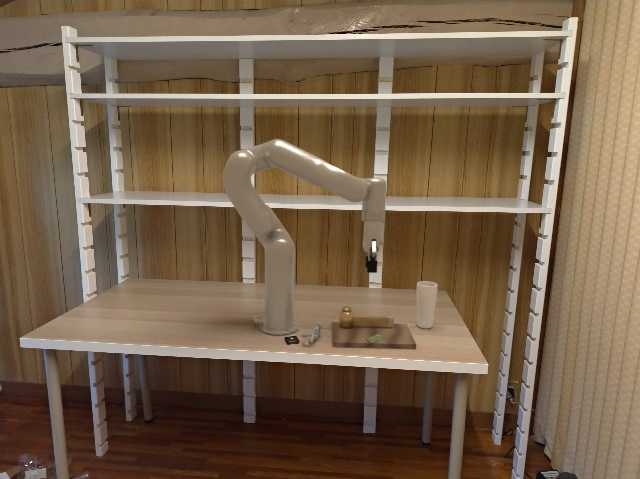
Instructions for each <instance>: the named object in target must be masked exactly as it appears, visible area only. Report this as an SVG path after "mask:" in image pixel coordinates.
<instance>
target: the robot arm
mask: <svg viewBox="0 0 640 479" xmlns="http://www.w3.org/2000/svg"><path fill="white" fill-rule="evenodd" d="M274 168H276V169H278V170H281V171H283V172H284V173H287V174H289V175H291V176H293V177H295V178H296V179H299V180H301V181H303V182H306V183H307V184H310V185H312V186H315V187H318V188H321V189H323V190H326V191H327V192H329V193H332V194H334V195H336V196H338V197H340V198H343V199H344V200H346V201H348V202H350V203H354V204H355V203H360V202H362V203H361V204H362V205H361V221H362V222H364V223H363V237H362V248H363V251H364V252H365V253H366V256H365V268H366V271H367V273H370V274H373V273H374V274H376V273H378V253H379V252H380V249H381V238H382V237H381V235H382V234H381V233H382V223H384V222H385V220H386V202H387V201H386V199H387V181H386V179H384V178H380V177H367V178H361V177H357V176H355V175H353V174H351V173H348V172H346V171H344V170H342V169H341V168H338V167H336V166H335V165H332V164H330V163H328V162H327V161H326V160H323V159H321V157H318V156H316V155H314V154H312V153H310V152H308V151H305V150H304V149H301V148H300V147H298V146H296V145H294V144H292V143H290V142H288V141H285V140H284V139H279V138H275V139H272V140H269V141H267V142H264V143H261V144H258V145H254V146H251V147H248V148H244V149H241V150H237V151H234V152H233V153H232V154H231V155H230V156H229V158H228V159H227V161H226V163H225V165H224V168H223V171H222V186H223V190H224V193H225V194H226V196H227V198H228V199H229V201H230V202H231V204H232V205H233V207H234V209H235V211H237V213H238V215H239V216H240V217H241V219H242V220H243V222H244V224H245V225H246V227H247V229H248V230H249V232H251V234H253V235H254V236H256V238H257V239H258V241H259V242H260V244H261V246H262V247H263V248H264V313H263V314H261V315H259V314H252V315H251V321H252V322H254V323H255V324H260V325H259V328H260V331H262V333H265V334H269V335H275V336H283V335H291V334H293V333H296V332H297V331H298V330H299V323H298V322H297V321H295V265H296V246H295V243H294V241H293V239H292V237H291V235H290V233H289V232H288V231H287V230H286V228H285V227H284V226H283V223H282V222H281V221H280V219H279V218H278V217H277V216H278V215H276V213H275V212H274V210H273V209H272V207H270V206H269V205H267V204H266V203H265V201H264V200H263V198H261V196H260V194H259V192H258V191H257V189H256V188H255V186H254V185H253V183H252V176H253V175H255V174H258V173H260V172H264V171H267V170H270V169H274Z"/></svg>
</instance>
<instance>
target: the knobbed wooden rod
mask: <svg viewBox="0 0 640 479" xmlns="http://www.w3.org/2000/svg"><path fill="white" fill-rule="evenodd" d="M339 322H340V325H339V326H340V327H342V328H352V327H353V326H384V327H394V323H395V317H394V316H393V315H392V316H391V315H389V316H384V315H383V316H381V315H379V316H378V315H376V316H375V315H372V316H371V315H354V310H352V307H351V306H347V305H345V306H342V309H340V310H339Z"/></svg>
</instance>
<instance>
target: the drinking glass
mask: <svg viewBox="0 0 640 479" xmlns="http://www.w3.org/2000/svg"><path fill="white" fill-rule="evenodd" d="M415 294H416V295H415V296H416V299H415V300H416V326H417V327H419V328H421V329H426V330H427V329H432V328H433V326H434V324H433V323H434V315H435V311H436V310H435V309H436V304H437V303H436V302H437V296H438V284H437V283H436V282H433V281H427V280H425V281H424V280H422V281H418V282H417V283H416V293H415Z"/></svg>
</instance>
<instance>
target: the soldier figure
mask: <svg viewBox="0 0 640 479" xmlns="http://www.w3.org/2000/svg"><path fill="white" fill-rule="evenodd" d="M315 325H316V326H315V327H314V328H313V329H312V330H311V332H310V333H303V334H301V337H303V338H304V337H305V339H304V341H305V342H304V341H301V345H302V346H305V347H308V346H309V343H310V344H313V343H314V341H316V340H317V339H318V338H319V336H320V333H321V330H322V329H323V327H324V326H325V324H324V323H323V322H320V321H315Z"/></svg>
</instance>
